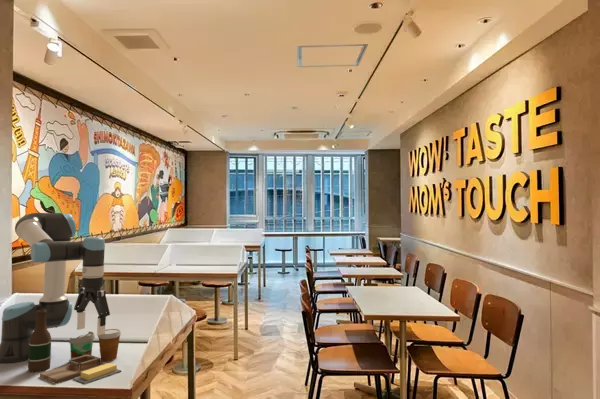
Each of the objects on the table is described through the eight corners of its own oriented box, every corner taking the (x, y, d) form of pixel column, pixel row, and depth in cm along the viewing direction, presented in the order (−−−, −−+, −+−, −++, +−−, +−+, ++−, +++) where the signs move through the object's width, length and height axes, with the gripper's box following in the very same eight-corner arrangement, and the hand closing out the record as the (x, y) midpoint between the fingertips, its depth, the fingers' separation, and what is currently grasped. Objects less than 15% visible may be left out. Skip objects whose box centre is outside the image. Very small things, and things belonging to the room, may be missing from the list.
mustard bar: (78, 377, 154) (86, 358, 157) (103, 380, 163) (110, 363, 166) (86, 379, 151) (94, 360, 154) (111, 383, 160) (118, 365, 163)
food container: (80, 363, 172) (81, 339, 172) (68, 362, 173) (69, 338, 173) (100, 354, 184) (101, 331, 184) (88, 353, 185) (89, 331, 186)
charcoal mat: (73, 379, 154) (73, 378, 154) (109, 367, 166) (109, 366, 166) (84, 384, 149) (84, 382, 149) (121, 371, 162) (121, 370, 162)
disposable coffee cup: (104, 364, 171) (105, 335, 171) (92, 359, 176) (93, 332, 176) (125, 357, 179) (125, 330, 180) (112, 353, 184) (113, 327, 185)
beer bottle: (29, 367, 166) (32, 309, 167) (51, 365, 169) (54, 307, 171) (25, 374, 159) (28, 312, 160) (48, 371, 162) (50, 311, 163)
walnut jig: (39, 377, 156) (40, 366, 156) (89, 362, 173) (89, 352, 173) (56, 383, 150) (56, 372, 150) (106, 367, 167) (106, 357, 167)
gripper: (65, 275, 160) (63, 328, 159) (102, 280, 147) (100, 339, 146) (84, 273, 167) (82, 324, 166) (121, 278, 154) (119, 334, 153)
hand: (90, 331), depth 156 cm, fingers open, 13 cm apart
